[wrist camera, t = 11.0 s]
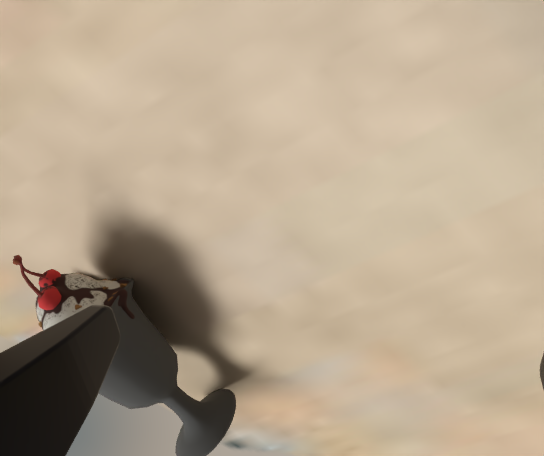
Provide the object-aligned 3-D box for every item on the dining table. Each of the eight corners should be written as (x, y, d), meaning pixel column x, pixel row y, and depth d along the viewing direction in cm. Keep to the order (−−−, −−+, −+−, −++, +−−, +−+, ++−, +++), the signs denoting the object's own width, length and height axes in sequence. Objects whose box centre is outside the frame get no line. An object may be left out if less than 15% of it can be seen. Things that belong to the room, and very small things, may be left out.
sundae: (234, 462, 22) (-1, 267, 18) (152, 491, 25) (-70, 329, 21) (257, 365, 28) (82, 197, 23) (187, 397, 31) (19, 253, 26)
